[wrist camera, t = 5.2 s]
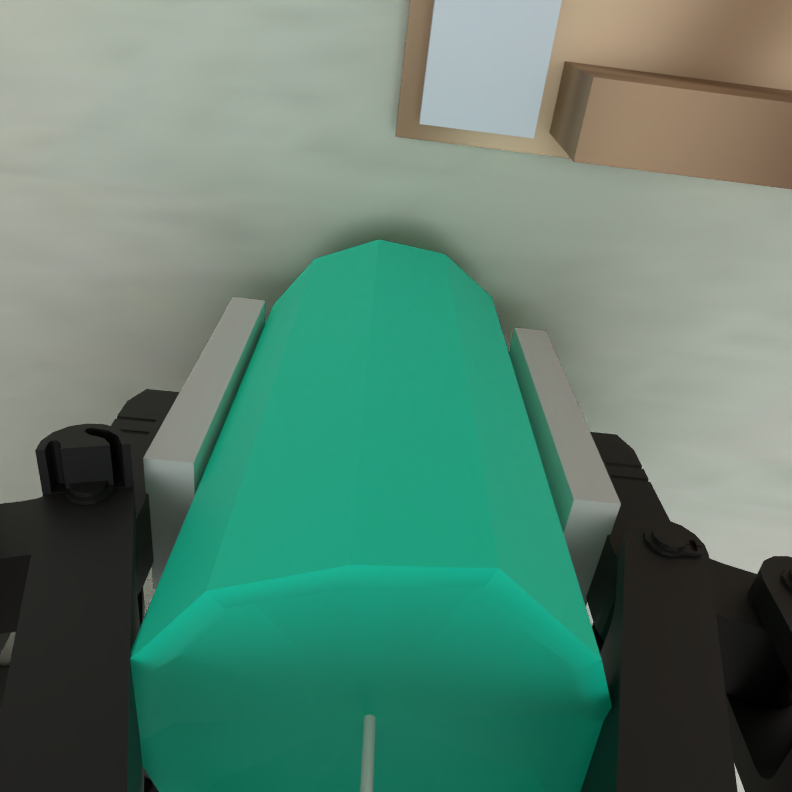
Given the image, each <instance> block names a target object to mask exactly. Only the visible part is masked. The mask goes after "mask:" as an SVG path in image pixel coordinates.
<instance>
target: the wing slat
mask: <svg viewBox="0 0 792 792" xmlns="http://www.w3.org/2000/svg"><path fill="white" fill-rule="evenodd" d="M561 3H562V0H434V4H433V12H432V20H431V28H430V37H429V45H428V53H427V61H426V69H425V77H424V85H423V93H422V101H421V109H420V124H423V125H431V126H439V127H447V128H455V129H463V130H471V131H478V132H486V133H494V134H502V135H510V136H518V137H526V138H534V135H535V130H536V125H537V120H538V115H539V111H540V106H541V101H542V96H543V91H544V86H545V81H546V76H547V71H548V67H549V62H550V57H551V52H552V47H553V42H554V37H555V32H556V28H557V23H558V18H559V13H560V8H561Z"/></svg>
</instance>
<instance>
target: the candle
mask: <svg viewBox="0 0 792 792" xmlns="http://www.w3.org/2000/svg"><path fill="white" fill-rule="evenodd" d="M130 663H131V671H132V679H133V687H134V695H135V703H136V711H137V719H138V727H139V735H140V745H141V756H142V766H143V768H144V769H145V771H146V772H147V774H148V775H149V777H150V779H151V780H152V782H153V783H154V785H155V786H156V788H157V790H158V791H159V792H581V789H582V786H583V783H584V780H585V776H586V773H587V770H588V767H589V764H590V761H591V758H592V755H593V752H594V749H595V746H596V743H597V740H598V737H599V734H600V731H601V728H602V725H603V721H604V719H605V718H606V716H607V714H608V713H609V711H610V709H611V707H612V704H611V700H610V695H609V691H608V686H607V682H606V677H605V673H604V668H603V664H602V659H601V656H600V653H599V649H598V646H597V643H596V639H595V636H594V633H593V629H592V626H591V623H590V620H589V616H588V613H587V610H586V606H585V603H584V600H583V596H582V593H581V590H580V587H579V583H578V580H577V577H576V573H575V570H574V567H573V563H572V560H571V557H570V554H569V550H568V547H567V544H566V540H565V537H564V534H563V530H562V527H561V524H560V521H559V517H558V514H557V511H556V507H555V504H554V501H553V497H552V494H551V491H550V488H549V484H548V481H547V478H546V474H545V471H544V468H543V464H542V461H541V458H540V455H539V451H538V448H537V445H536V441H535V438H534V435H533V431H532V428H531V425H530V422H529V418H528V415H527V412H526V408H525V405H524V402H523V398H522V395H521V392H520V389H519V385H518V382H517V379H516V375H515V372H514V369H513V365H512V362H511V359H510V356H509V352H508V349H507V346H506V342H505V339H504V336H503V332H502V329H501V326H500V323H499V319H498V316H497V313H496V309H495V306H494V303H493V299H492V297H491V296H490V295H489V294H488V293H487V292H486V291H485V290H483V289H482V288H481V287H480V286H479V285H478V284H477V283H476V282H475V281H474V280H473V279H472V278H470V277H469V276H468V275H467V274H466V273H465V272H464V271H463V270H462V269H461V268H460V267H459V266H458V265H456V264H455V263H454V262H453V261H452V260H451V259H450V258H449V257H448V256H447V255H446V254H443V253H438V252H434V251H429V250H425V249H420V248H416V247H411V246H407V245H402V244H398V243H393V242H389V241H384V240H380V239H378V240H375V241H372V242H368V243H365V244H362V245H358V246H355V247H352V248H349V249H345V250H342V251H339V252H335V253H332V254H329V255H326V256H322V257H319V258H316V259H314V260H313V261H312V262H311V264H310V265H309V266H308V267H307V268H306V269H305V270H304V271H303V272H302V274H301V275H300V276H299V277H298V278H297V279H296V280H295V281H294V282H293V284H292V285H291V286H290V287H289V288H288V289H287V290H286V291H285V292H284V294H283V295H282V296H281V297H280V298H279V299H278V300H277V301H276V302H275V304H274V305H273V307H272V309H271V312H270V314H269V317H268V319H267V321H266V324H265V326H264V329H263V331H262V334H261V336H260V338H259V341H258V343H257V346H256V348H255V351H254V353H253V355H252V358H251V360H250V363H249V365H248V367H247V370H246V372H245V375H244V377H243V380H242V382H241V384H240V387H239V389H238V392H237V394H236V397H235V399H234V401H233V404H232V406H231V409H230V411H229V414H228V416H227V418H226V421H225V423H224V426H223V428H222V431H221V433H220V435H219V438H218V440H217V443H216V445H215V447H214V450H213V452H212V455H211V457H210V460H209V462H208V464H207V467H206V469H205V472H204V474H203V477H202V479H201V481H200V484H199V486H198V489H197V491H196V494H195V496H194V498H193V501H192V503H191V506H190V508H189V511H188V513H187V515H186V518H185V520H184V523H183V525H182V527H181V530H180V532H179V535H178V537H177V540H176V542H175V544H174V547H173V549H172V552H171V554H170V557H169V559H168V561H167V564H166V566H165V569H164V571H163V574H162V576H161V578H160V581H159V583H158V586H157V588H156V591H155V593H154V595H153V598H152V600H151V603H150V605H149V607H148V610H147V612H146V615H145V617H144V620H143V622H142V624H141V627H140V629H139V632H138V634H137V637H136V639H135V641H134V644H133V646H132V649H131V655H130Z"/></svg>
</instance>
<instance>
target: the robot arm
mask: <svg viewBox="0 0 792 792" xmlns="http://www.w3.org/2000/svg"><path fill="white" fill-rule="evenodd" d="M264 326H265V300H256V299H247V298H238V297H232V299H231V301H230V302H229V304H228V306H227V308H226V310H225V311H224V313H223V315H222V317H221V319H220V320H219V322H218V324H217V326H216V328H215V329H214V331H213V333H212V335H211V337H210V339H209V340H208V342H207V344H206V346H205V348H204V349H203V351H202V353H201V355H200V357H199V358H198V360H197V362H196V364H195V366H194V367H193V369H192V371H191V373H190V375H189V376H188V378H187V380H186V382H185V384H184V385H183V387H182V389H181V391H180V392H170V391H160V390H150V389H146V390H144V391H143V392H141V393H140V394H138V395H136V396H135V397H133V398H132V399H130V400H128V401H127V402H126V404H125V405H124V407H123V408H122V410H121V411H120V413H119V414H118V416H117V419H115V420H114V422H113V423H112V425H111V426H108V425H104V424H82V425H75V426H69V427H66V428H64V429H61V430H58V431H55V432H53V433H51V434H50V435H49V436H47V437H46V438H44V439H43V440H41V442H40V444H39V445H38V447H37V449H36V450H35V451H36V457H37V463H38V469H39V474H40V480H41V486H42V492H43V497H41V498H37V499H33V500H27V501H22V502H13V503H4V504H0V653H1V651H2V649H3V647H4V645H5V644H6V642H7V640H8V638H9V636H10V633H11V632H16V635H15V641H14V646H13V651H12V656H11V661H10V666H9V667H0V792H159V791H158V790H157V788H156V786H155V785H154V783H153V782H152V780H151V779H150V777H149V775H148V774H147V772H146V771H145V769H144V768H143V766H142V756H141V745H140V735H139V727H138V719H137V711H136V703H135V695H134V687H133V679H132V671H131V663H130V655H131V649H132V646H133V644H134V641H135V639H136V637H137V634H138V632H139V629H140V627H141V624H142V622H143V620H144V609H145V605H144V593H143V585H144V583H145V580H146V578H147V576H148V573H149V571H150V569H151V566H152V578H153V589H156V588H157V586H158V583H159V581H160V578H161V576H162V574H163V571H164V569H165V566H166V564H167V561H168V559H169V557H170V554H171V552H172V549H173V547H174V544H175V542H176V540H177V537H178V535H179V532H180V530H181V527H182V525H183V523H184V520H185V518H186V515H187V513H188V511H189V508H190V506H191V503H192V501H193V498H194V496H195V494H196V491H197V489H198V486H199V484H200V481H201V479H202V477H203V474H204V472H205V469H206V467H207V464H208V462H209V460H210V457H211V455H212V452H213V450H214V447H215V445H216V443H217V440H218V438H219V435H220V433H221V431H222V428H223V426H224V423H225V421H226V418H227V416H228V414H229V411H230V409H231V406H232V404H233V401H234V399H235V397H236V394H237V392H238V389H239V387H240V384H241V382H242V380H243V377H244V375H245V372H246V370H247V367H248V365H249V363H250V360H251V358H252V355H253V353H254V351H255V348H256V346H257V343H258V341H259V338H260V336H261V334H262V331H263V329H264ZM509 356H510V359H511V362H512V365H513V369H514V372H515V375H516V379H517V382H518V385H519V389H520V392H521V395H522V398H523V402H524V405H525V408H526V412H527V415H528V418H529V422H530V425H531V428H532V431H533V435H534V438H535V441H536V445H537V448H538V451H539V455H540V458H541V461H542V464H543V468H544V471H545V474H546V478H547V481H548V484H549V488H550V491H551V494H552V497H553V501H554V504H555V507H556V511H557V514H558V517H559V521H560V524H561V527H562V530H563V534H564V537H565V540H566V544H567V547H568V550H569V554H570V557H571V560H572V563H573V567H574V570H575V573H576V577H577V580H578V583H579V587H580V590H581V593H582V596H583V600H584V603H585V606H586V604H587V602H588V605H589V608H590V612H591V615H592V618H593V621H594V622H593V625H592V629H593V633H594V636H595V639H596V643H597V646H598V649H599V653H600V656H601V659H602V664H603V668H604V673H605V677H606V682H607V686H608V691H609V695H610V700H611V704H612V707H611V709H610V711H609V713H608V714H607V716H606V718H605V719H604V721H603V725H602V728H601V731H600V734H599V737H598V740H597V743H596V746H595V749H594V752H593V755H592V758H591V761H590V764H589V767H588V770H587V773H586V776H585V780H584V783H583V786H582V789H581V792H737V784H736V776H735V768H734V763H735V766H736V769H737V771H738V774H739V777H740V779H741V782H742V785H743V787H744V790H745V792H792V557H788V556H773V557H771V558H769V559H767V560H765V561H764V562H763V564H762V566H761V568H760V570H759V572H758V574H755V573H751V572H748V571H745V570H742V569H738V568H735V567H732V566H729V565H726V564H722V563H720V562H717V561H715V560H712V559H710V558H709V555H708V552H707V550H706V547H705V545H704V544H703V543H702V542H701V541H700V539H699V538H698V537H697V536H696V535H695V534H693V533H692V532H690V531H689V530H687V529H686V528H684V527H683V526H681V525H678V524H676V523H673V522H671V521H670V520H669V518H668V516H667V514H666V512H665V510H664V508H663V506H662V504H661V502H660V500H659V498H658V496H657V494H656V493H655V491H654V489H653V487H652V485H651V483H650V482H648V477H647V475H646V473H645V471H644V469H642V465H641V463H640V461H639V459H638V457H637V455H636V453H635V452H634V450H633V449H632V448H631V447H630V446H629V445H628V444H627V443H625V442H624V441H623V440H622V439H621V438H620V437H619V436H618V435H615V434H605V433H595V432H590V431H589V429H588V426H587V424H586V422H585V420H584V417H583V415H582V413H581V410H580V408H579V406H578V403H577V401H576V399H575V396H574V394H573V392H572V390H571V387H570V385H569V383H568V380H567V378H566V376H565V373H564V371H563V369H562V366H561V364H560V362H559V359H558V357H557V355H556V353H555V350H554V348H553V346H552V343H551V341H550V339H549V336H548V334H547V332H546V331H543V330H534V329H525V328H516V327H515V329H514V334H513V338H512V343H511V347H510V352H509Z"/></svg>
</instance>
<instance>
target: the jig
mask: <svg viewBox="0 0 792 792" xmlns="http://www.w3.org/2000/svg"><path fill="white" fill-rule="evenodd" d="M433 4H434V0H410V6H409V16H408V25H407V34H406V43H405V53H404V62H403V71H402V80H401V90H400V99H399V108H398V117H397V126H396V137H403V138H411V139H419V140H427V141H435V142H443V143H451V144H459V145H467V146H475V147H483V148H491V149H499V150H507V151H515V152H523V153H531V154H539V155H546V156H554V157H562V158H570V159H572V160H573V162H580V163H588V164H596V165H604V166H612V167H620V168H628V169H636V170H644V171H652V172H660V173H668V174H676V175H683V176H691V177H699V178H707V179H715V180H723V181H731V182H739V183H747V184H755V185H763V186H771V187H779V188H787V189H792V0H562V3H561V8H560V13H559V18H558V23H557V28H556V32H555V37H554V42H553V47H552V52H551V57H550V62H549V67H548V71H547V76H546V81H545V86H544V91H543V96H542V101H541V106H540V111H539V115H538V120H537V125H536V130H535V135H534V138H526V137H518V136H510V135H502V134H494V133H486V132H478V131H471V130H463V129H455V128H447V127H439V126H431V125H423V124H420V109H421V101H422V93H423V85H424V77H425V69H426V61H427V53H428V45H429V37H430V28H431V20H432V12H433Z"/></svg>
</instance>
